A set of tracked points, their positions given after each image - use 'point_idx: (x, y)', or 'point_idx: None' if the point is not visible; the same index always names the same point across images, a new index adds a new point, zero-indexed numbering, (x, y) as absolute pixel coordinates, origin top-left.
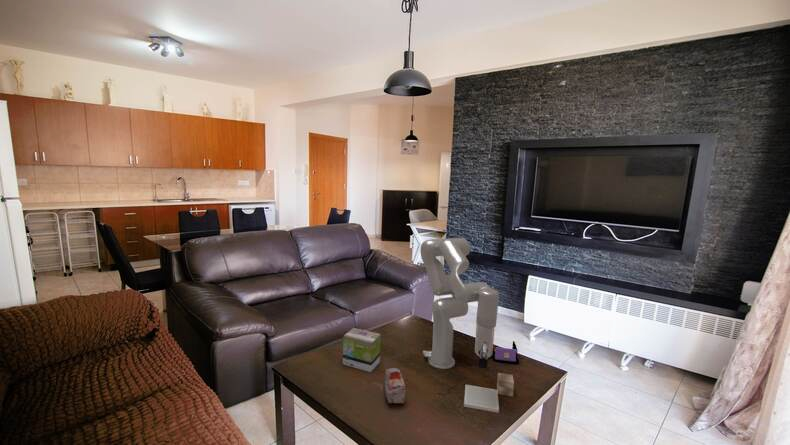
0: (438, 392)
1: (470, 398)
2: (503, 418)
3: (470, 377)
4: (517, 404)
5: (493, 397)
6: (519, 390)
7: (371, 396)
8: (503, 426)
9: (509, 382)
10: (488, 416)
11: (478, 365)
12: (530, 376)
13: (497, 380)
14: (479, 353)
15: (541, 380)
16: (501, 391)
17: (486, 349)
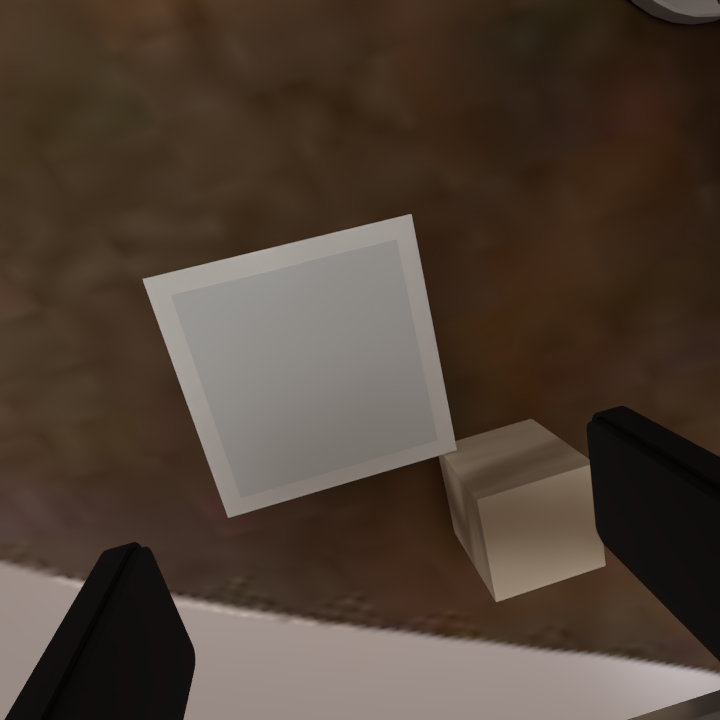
0: (205, 5)
1: (236, 308)
2: (191, 543)
3: (554, 216)
4: (383, 573)
5: (346, 453)
6: None
7: None
8: None
9: (489, 572)
10: (149, 461)
11: (97, 567)
12: None
13: (543, 442)
14: (596, 436)
15: None
16: (449, 478)
17: (693, 628)
